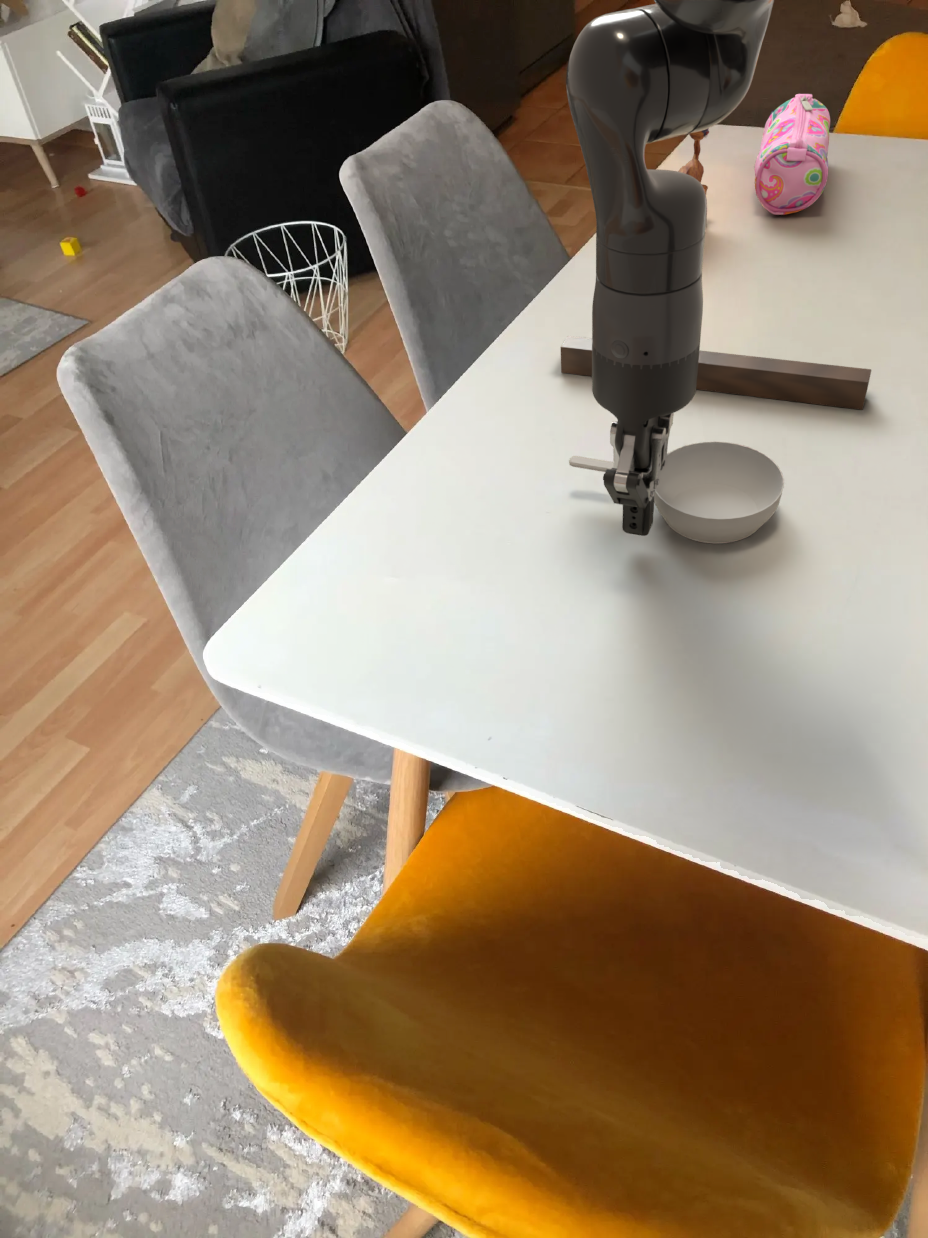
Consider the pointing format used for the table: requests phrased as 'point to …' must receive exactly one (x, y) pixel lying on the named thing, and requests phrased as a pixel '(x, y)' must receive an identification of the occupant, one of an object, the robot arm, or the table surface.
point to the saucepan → (712, 490)
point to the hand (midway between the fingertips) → (637, 528)
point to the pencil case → (793, 156)
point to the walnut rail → (754, 376)
